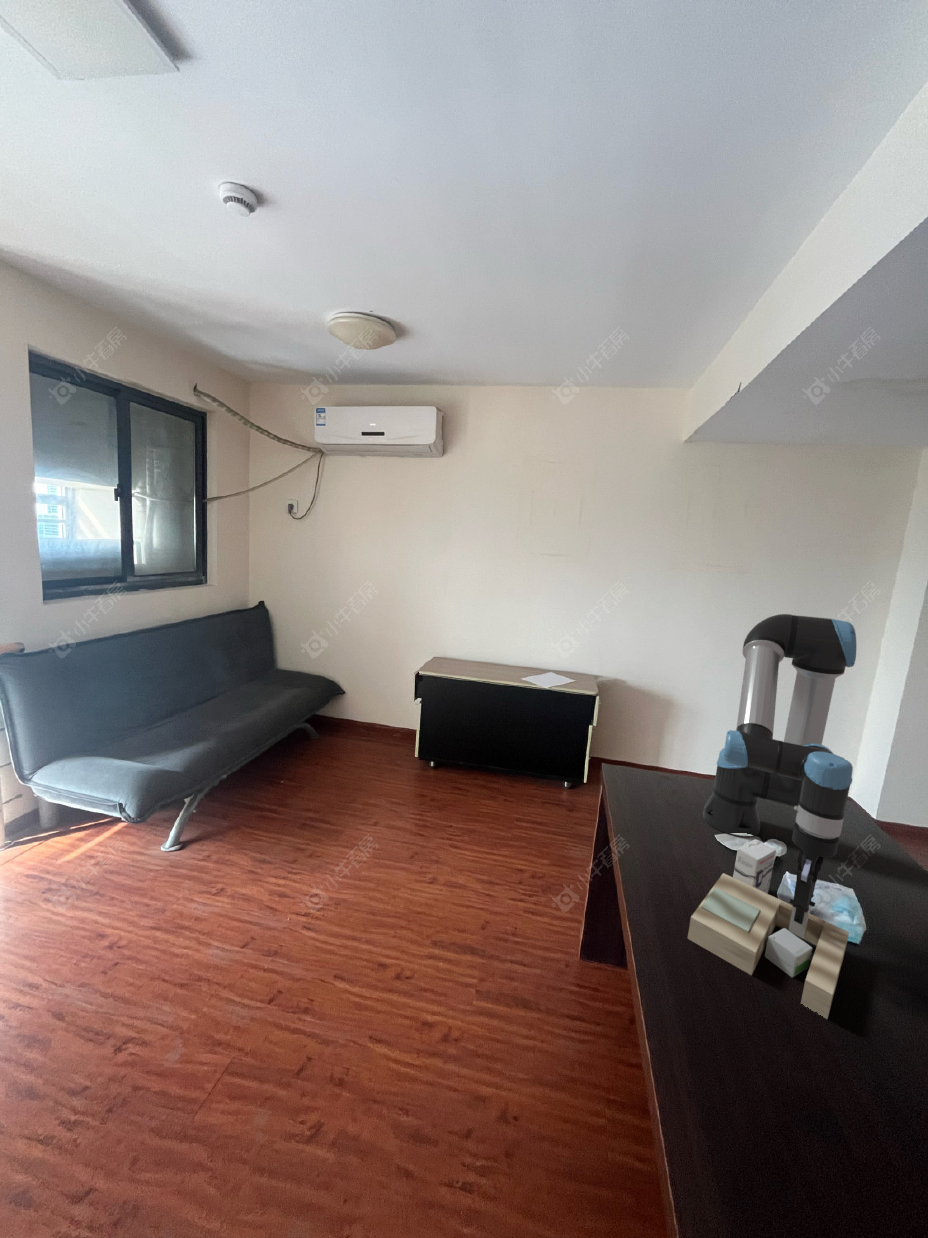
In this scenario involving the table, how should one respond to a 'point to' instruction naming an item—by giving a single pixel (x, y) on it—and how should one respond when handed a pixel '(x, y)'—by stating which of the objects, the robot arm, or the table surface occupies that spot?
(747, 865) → the ink box
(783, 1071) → the table surface
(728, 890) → the board
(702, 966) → the table surface
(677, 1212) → the table surface
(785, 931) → the small box
